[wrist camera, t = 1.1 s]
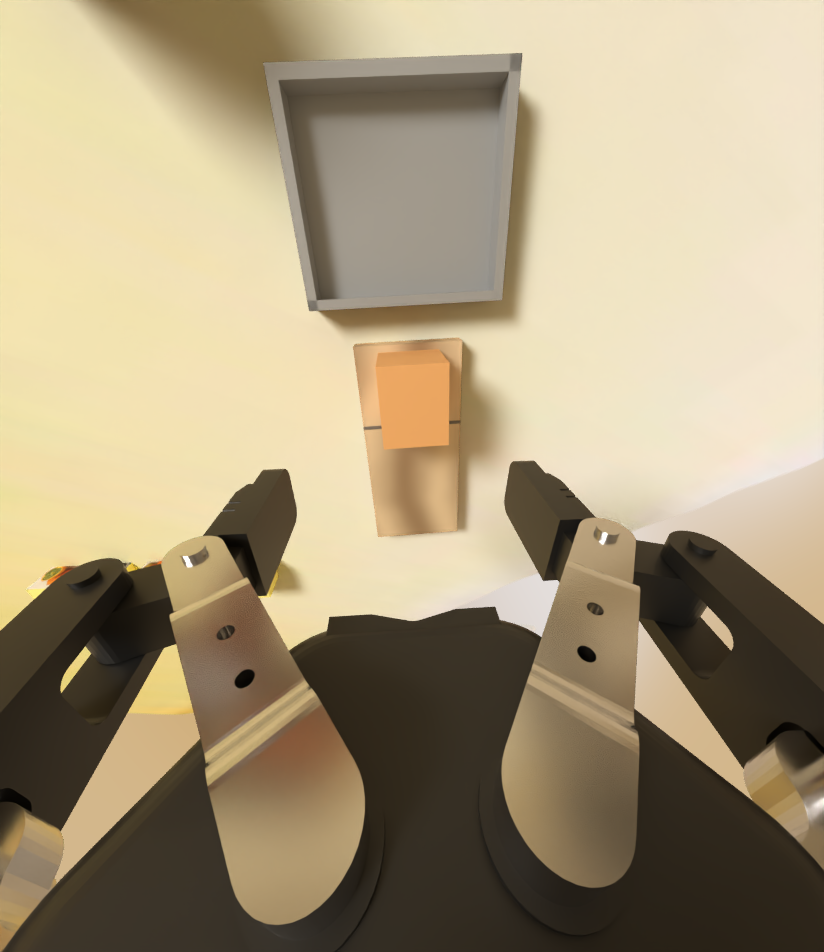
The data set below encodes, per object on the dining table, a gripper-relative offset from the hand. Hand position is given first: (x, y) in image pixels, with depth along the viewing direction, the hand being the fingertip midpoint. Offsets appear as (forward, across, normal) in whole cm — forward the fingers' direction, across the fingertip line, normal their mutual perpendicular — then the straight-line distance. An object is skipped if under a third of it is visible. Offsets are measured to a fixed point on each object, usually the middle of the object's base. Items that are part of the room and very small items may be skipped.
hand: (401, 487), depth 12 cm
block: (+15, -1, 0) cm, 15 cm away
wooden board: (+17, -2, +6) cm, 18 cm away
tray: (+17, -1, -11) cm, 20 cm away
